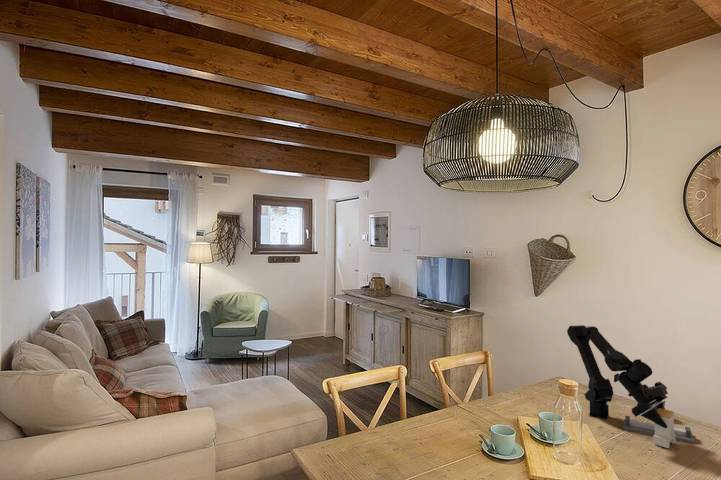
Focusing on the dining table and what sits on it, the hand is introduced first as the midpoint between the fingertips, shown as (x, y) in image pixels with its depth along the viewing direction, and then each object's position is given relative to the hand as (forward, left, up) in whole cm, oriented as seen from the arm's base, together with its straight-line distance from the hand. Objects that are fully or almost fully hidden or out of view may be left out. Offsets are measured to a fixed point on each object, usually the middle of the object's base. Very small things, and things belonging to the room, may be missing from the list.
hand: (668, 425), depth 149 cm
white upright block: (-1, 0, -7) cm, 7 cm away
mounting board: (-3, +10, -7) cm, 13 cm away
